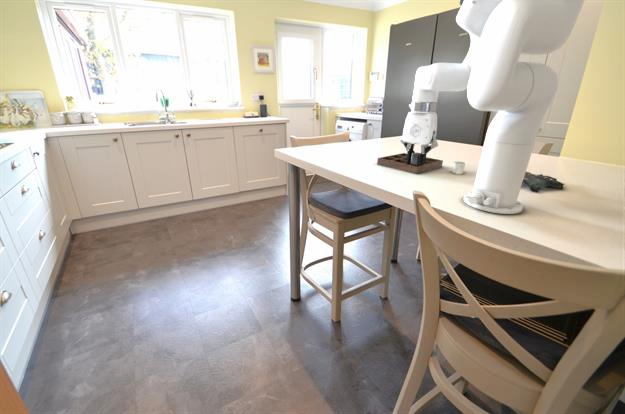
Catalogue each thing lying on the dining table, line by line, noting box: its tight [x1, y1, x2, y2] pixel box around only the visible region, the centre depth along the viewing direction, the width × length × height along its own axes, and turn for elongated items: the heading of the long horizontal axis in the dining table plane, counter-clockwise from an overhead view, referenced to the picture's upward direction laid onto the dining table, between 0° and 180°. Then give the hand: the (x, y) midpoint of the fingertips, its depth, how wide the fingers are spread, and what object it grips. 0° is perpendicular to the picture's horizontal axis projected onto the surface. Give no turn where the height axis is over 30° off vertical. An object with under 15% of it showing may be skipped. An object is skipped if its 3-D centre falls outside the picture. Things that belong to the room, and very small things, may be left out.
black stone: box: [410, 152, 421, 165], centre depth 98 cm, size 4×4×4 cm
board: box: [376, 152, 444, 175], centre depth 107 cm, size 17×17×2 cm
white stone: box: [451, 161, 466, 175], centre depth 98 cm, size 4×4×4 cm
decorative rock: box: [522, 171, 565, 193], centre depth 87 cm, size 19×6×15 cm
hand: (415, 163), depth 99 cm, fingers closed on black stone, 3 cm apart
